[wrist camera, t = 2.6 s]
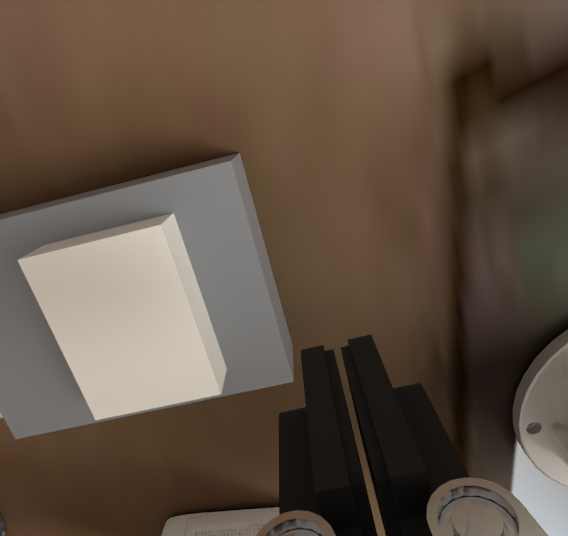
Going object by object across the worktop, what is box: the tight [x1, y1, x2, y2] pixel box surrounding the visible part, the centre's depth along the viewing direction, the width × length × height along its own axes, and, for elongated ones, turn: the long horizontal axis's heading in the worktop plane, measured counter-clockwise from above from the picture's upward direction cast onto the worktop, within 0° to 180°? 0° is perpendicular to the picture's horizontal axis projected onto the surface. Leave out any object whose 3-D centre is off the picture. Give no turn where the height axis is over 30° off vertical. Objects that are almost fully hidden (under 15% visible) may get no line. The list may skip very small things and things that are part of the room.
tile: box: [18, 213, 227, 420], centre depth 19 cm, size 6×8×2 cm
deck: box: [0, 153, 294, 439], centre depth 22 cm, size 15×11×4 cm
